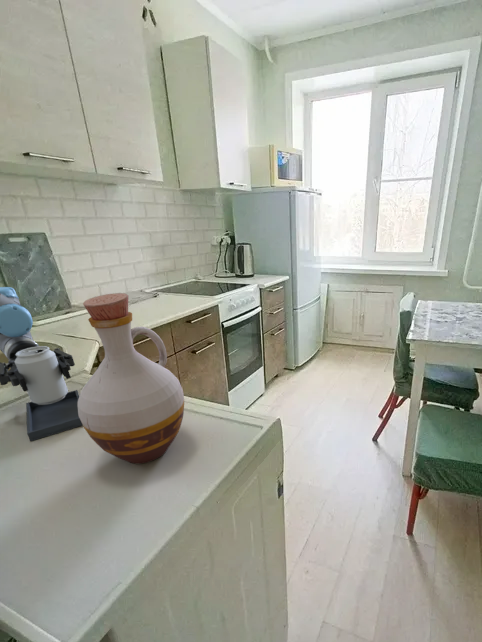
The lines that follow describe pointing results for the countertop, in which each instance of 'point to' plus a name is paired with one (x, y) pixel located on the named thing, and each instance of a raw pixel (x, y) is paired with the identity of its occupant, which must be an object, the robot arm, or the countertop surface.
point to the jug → (129, 388)
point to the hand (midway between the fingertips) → (46, 378)
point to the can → (41, 375)
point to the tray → (53, 417)
